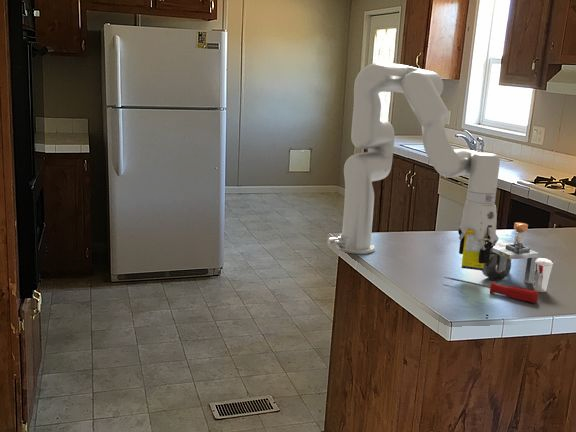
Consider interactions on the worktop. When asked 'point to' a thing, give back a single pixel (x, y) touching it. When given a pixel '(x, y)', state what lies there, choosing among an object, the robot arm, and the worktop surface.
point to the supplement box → (472, 251)
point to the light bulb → (519, 234)
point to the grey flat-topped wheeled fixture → (508, 261)
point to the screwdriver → (509, 291)
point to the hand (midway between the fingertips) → (473, 257)
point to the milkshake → (542, 274)
